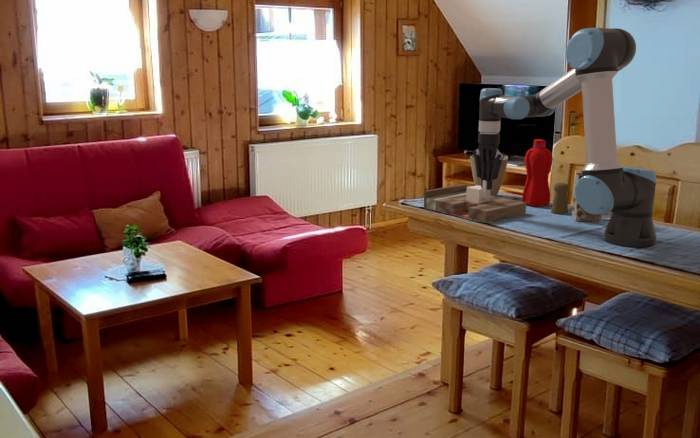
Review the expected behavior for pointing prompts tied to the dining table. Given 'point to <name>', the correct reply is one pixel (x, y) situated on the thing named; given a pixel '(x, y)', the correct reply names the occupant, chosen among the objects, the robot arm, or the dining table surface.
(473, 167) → the plant pot
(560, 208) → the cork
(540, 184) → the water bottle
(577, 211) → the coffee box
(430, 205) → the wooden board
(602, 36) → the robot arm
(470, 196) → the block
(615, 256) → the dining table surface
